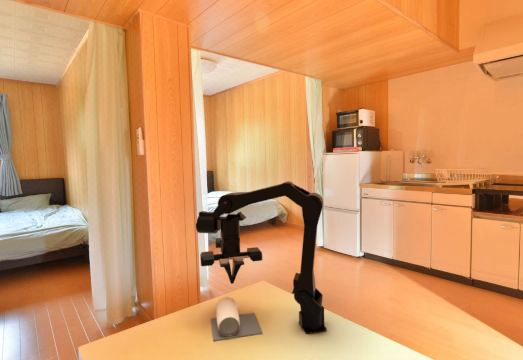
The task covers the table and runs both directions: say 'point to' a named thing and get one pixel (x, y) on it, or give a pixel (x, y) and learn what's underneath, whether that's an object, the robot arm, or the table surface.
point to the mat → (246, 327)
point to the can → (227, 316)
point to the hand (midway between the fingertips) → (232, 283)
